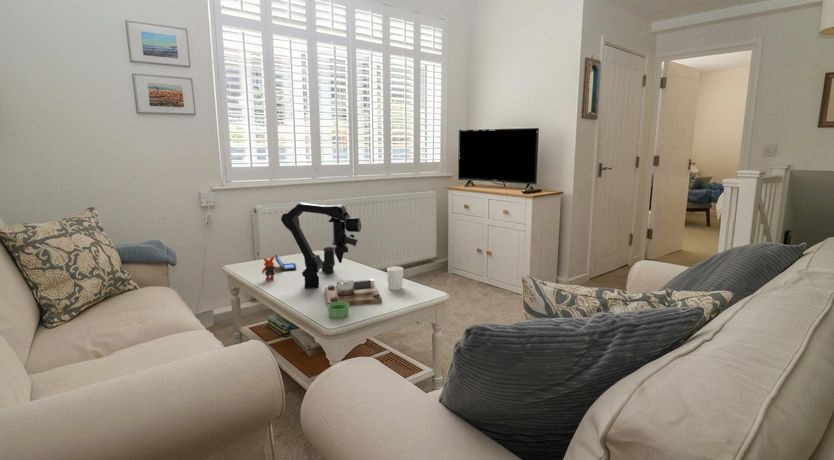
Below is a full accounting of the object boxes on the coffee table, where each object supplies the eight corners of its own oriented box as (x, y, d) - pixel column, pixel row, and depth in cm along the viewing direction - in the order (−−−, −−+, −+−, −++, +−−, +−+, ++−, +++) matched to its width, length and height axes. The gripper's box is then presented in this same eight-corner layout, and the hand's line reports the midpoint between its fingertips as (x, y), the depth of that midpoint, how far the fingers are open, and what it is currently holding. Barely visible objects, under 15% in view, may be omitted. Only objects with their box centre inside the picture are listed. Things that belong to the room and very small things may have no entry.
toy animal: (274, 276, 239) (273, 254, 237) (278, 279, 235) (277, 256, 233) (259, 279, 235) (258, 256, 232) (263, 281, 230) (261, 259, 228)
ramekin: (333, 321, 182) (333, 311, 181) (324, 314, 189) (323, 304, 188) (353, 316, 187) (352, 306, 186) (343, 309, 195) (343, 300, 194)
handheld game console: (296, 270, 251) (295, 257, 249) (276, 272, 247) (275, 259, 246) (295, 264, 262) (294, 252, 261) (275, 266, 259) (275, 253, 258)
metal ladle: (338, 296, 203) (337, 284, 202) (335, 290, 211) (335, 279, 209) (375, 292, 208) (375, 281, 207) (372, 287, 216) (371, 275, 214)
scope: (331, 245, 251) (338, 248, 242) (332, 268, 253) (339, 273, 245) (317, 246, 246) (324, 250, 238) (318, 271, 249) (325, 275, 241)
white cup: (397, 291, 217) (397, 271, 215) (384, 288, 221) (383, 269, 219) (406, 287, 223) (406, 267, 221) (393, 284, 228) (393, 265, 226)
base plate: (327, 307, 197) (327, 300, 196) (324, 291, 217) (324, 285, 216) (381, 302, 203) (381, 295, 202) (374, 287, 223) (374, 281, 222)
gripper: (358, 234, 209) (359, 266, 212) (353, 226, 227) (354, 256, 230) (334, 235, 206) (335, 268, 209) (331, 227, 224) (332, 258, 227)
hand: (340, 262), depth 219 cm, fingers closed
